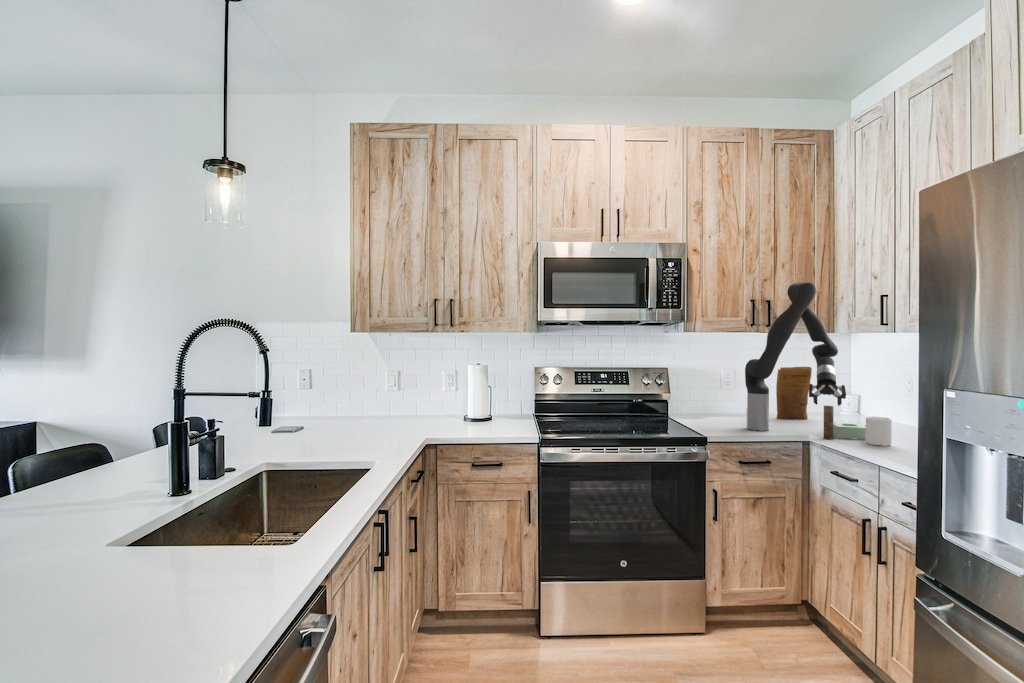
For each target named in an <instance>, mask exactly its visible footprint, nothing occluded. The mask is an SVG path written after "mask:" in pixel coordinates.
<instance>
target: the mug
mask: <svg viewBox="0 0 1024 683" xmlns="http://www.w3.org/2000/svg"><path fill="white" fill-rule="evenodd" d="M892 420H893V419H892V418H889V417H884V416H865V426H866V440H865V443H866V444H867V443H868V445H870V444H872V445H871V446H875V445H881V446H880V447H889V446H888V445H890V446H891V445H892V436H893V435H892V432H893V431H892V429H893V428H892V427H893V426H892V425H893V424H892Z"/></svg>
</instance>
